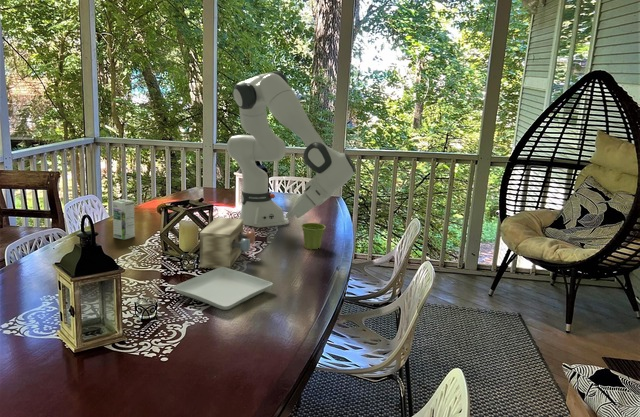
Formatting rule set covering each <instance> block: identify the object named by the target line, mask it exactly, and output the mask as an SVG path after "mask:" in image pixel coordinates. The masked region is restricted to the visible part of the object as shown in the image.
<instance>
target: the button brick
mask: <svg viewBox="0 0 640 417" xmlns="http://www.w3.org/2000/svg"><path fill="white" fill-rule="evenodd" d="M242 238H243V239H250V245H251V244H252V245H254V244H255V241H256V231H249V230H247V232H246V234H245V233H243V234H239V235H238V240H242Z"/></svg>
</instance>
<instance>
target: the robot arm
mask: <svg viewBox="0 0 640 417" xmlns="http://www.w3.org/2000/svg"><path fill="white" fill-rule="evenodd" d="M233 86H234V87H233V89H232V96H233V99H234V102H235V104H236V105H237V106H238V108H239V118H240V125H241V128H242V130H243V131H244V132H245V133H247V134H236V135H232V136H231V137H229V139H228V141H227V142H226V151H227V153H228V155H229V157H230V158H232V159H233V160H234V161H235V162H236V164H237V165H238V167H239V168H240V172H241V176H242V190H241V198H240V199H241V200H240V201H241V208H240V215H239V218H238V219H243V226H249V227H255V228H267V227H276V226H285V225H288V224H290V222H289V220H290V219H291V218H292V217H294V216H295V218H297V219H299V218H301V217H303V216H304V215H306V214H307V213H308V212H310V211H312V210H313V208H315V207H319V206H320V205H322V204H323V203H325V202H326V201H327V200H328V199H330V198H331V197H332V196H333V194H334V193H335V191H336V190H339V189H341V188H342V187H343V186H344V185H346V183H348V182H349V180H351V179H352V177H353V176H354V174H355V173H356V166H355V163H354V162H353V160H352V158H351V157H350V156H349V154H347V153H344V152H339V151H338V150H335V149H333V148H331V147H329V146H328V145H327V144H326V142H325V141H324V140H323V138H322V137H321V135H320V134H319V132H318V131H317V130H316V129H315V127H314V125H313V124H312V122H311V120H310V118H309V117H308V115H307V113H306V111H305V109H304V107H303V105H302V103H301V102H300V100H299V98H298V96H297V95H296V93H295V91H294V90H293V89H292V88H291V86H290V85H289V81H288V79H287V76H286V75H285V74H284V73H283V72H281V71H279V70H275V71H274V70H273V71H272V70H271V71H270V72H267V73H261V74H257V75H255V76H253V77H250V78H248V79H245V80H242V81H239V82H237V83H236V84H235V85H233ZM267 109H268V111H269V112H270V113H271V115H272V116H273V117H274V118H275V119H276V120H277V121H278V122H279V123H280V124H281V125H282V126H284V127H285V128H287V129H288V130H289V131H292V133H294V134H296V135H297V136H298V137H299V139H301V141H302V142H303V144H304V145H305V149H304V150H303V162H304V163H305V165H306V166H307V168H309V169H310V170H312V171H313V172H314V173H315V175H314V176H313V177H312V178H311V179H310V180H309V181H307V183H305V184H304V188H305V189H304V190H303V193H302V194H300V195H299V196H298V197H297V198H296V201H295V202H294V204H293V206H292V208H291V209H290V210H289V211H288V212H287V213H286V215H284V211H283V210H284V209H282V207H281V206H280V205H278V204H277V203H276V202H275V201H274V200H272V199H275V198H276V194H275V193H271V192H270V191H268V189H269V176H268V174H267V172H266V171H265V170H263V169H262V168H260V167H259V166H258V165H257V163H256V162H257V161H258V162H269V163H271V162H278V161H281V160H283V158H284V157H285V155H286V152H287V146H286V143H285V140H283V139H282V138H280V137H279V136H278V135H276V133H275V132H274V131H273V130H272V129H271V126H270V124H269V121H268V111H267Z"/></svg>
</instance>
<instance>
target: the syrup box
mask: <svg viewBox="0 0 640 417" xmlns="http://www.w3.org/2000/svg"><path fill="white" fill-rule="evenodd" d="M112 222H113V226H112V227H113V238H114V239H118V240H123V241H125V240H129V239H133V238H135V237H136V233H135V232H136V228H135V227H136V224H135V200H128V199H122V198H121V199H116V200H113V201H112Z"/></svg>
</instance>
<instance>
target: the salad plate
mask: <svg viewBox="0 0 640 417" xmlns="http://www.w3.org/2000/svg"><path fill="white" fill-rule="evenodd" d="M273 285H274V283H273V282H271V281H268V280H267V279H263V278H260V277H257V276H255V275H250V274H248V273H245V272H241V271H239V270H235V269H232V268H230V269H229V268H226V267H220V268H214V269H213V270H209V271H207V272H204V273H203V274H199V275H198V276H195V277H192V278H190V279H187V280H186V281H183V282H180V283H178V284H175V285H173V286H172V289H173V290H174V291H175V293H178V294H180V295H182V296H184V297H188V298H191V299H194V300H196V301H198V302H199V301H200V302H202V303H205V304H208V305H210V306H212V307H215V308H217V309H220V310H222V311H223V310H230V309H233V308H235V307H237V306H238V305H241V304H242V303H244V302H246V301H247V300H250V299H251V298H253V297H254V298H255V296H257V295H259V294H261V293H264V292H266V291H267V290H270V289H271V288H272V287H273Z"/></svg>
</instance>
